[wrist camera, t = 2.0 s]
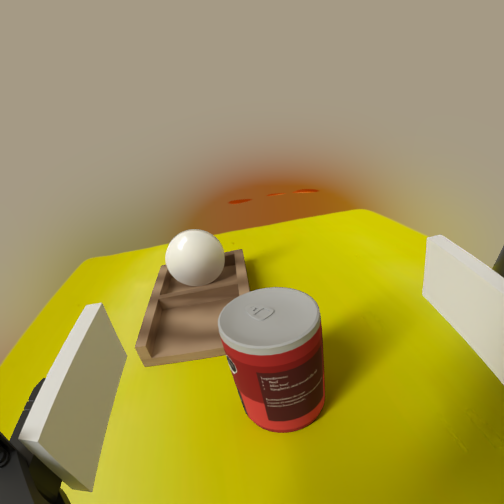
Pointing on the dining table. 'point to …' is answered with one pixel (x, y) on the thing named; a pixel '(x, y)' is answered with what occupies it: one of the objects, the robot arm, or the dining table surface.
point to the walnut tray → (189, 315)
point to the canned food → (275, 356)
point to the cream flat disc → (195, 257)
